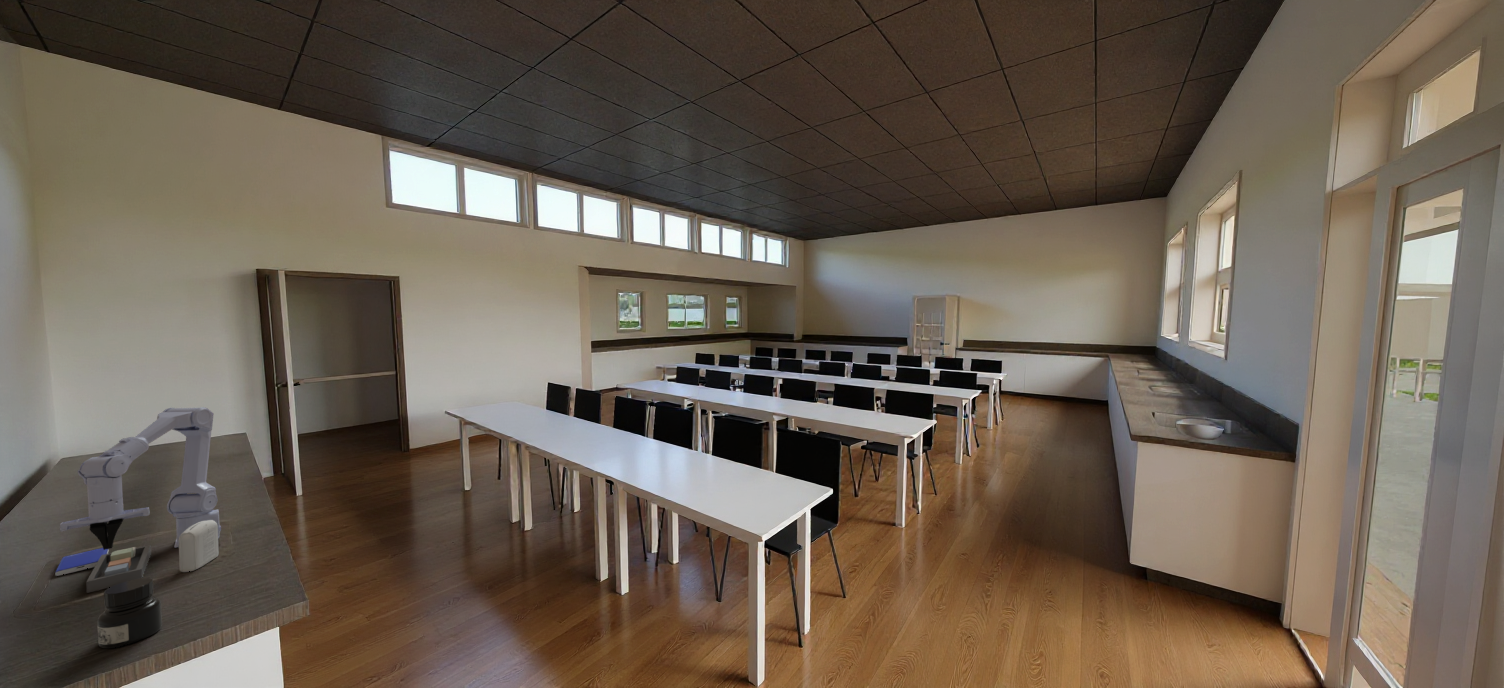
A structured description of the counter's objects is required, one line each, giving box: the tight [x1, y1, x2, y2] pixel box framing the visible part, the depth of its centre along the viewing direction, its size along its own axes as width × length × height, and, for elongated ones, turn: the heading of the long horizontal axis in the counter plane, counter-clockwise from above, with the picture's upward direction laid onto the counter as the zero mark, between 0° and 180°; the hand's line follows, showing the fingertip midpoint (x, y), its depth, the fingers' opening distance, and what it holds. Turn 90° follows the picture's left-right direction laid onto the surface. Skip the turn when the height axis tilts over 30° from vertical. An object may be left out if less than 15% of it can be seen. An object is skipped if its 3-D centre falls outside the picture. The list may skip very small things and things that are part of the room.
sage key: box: [110, 547, 133, 561], centre depth 138 cm, size 4×4×3 cm
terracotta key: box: [108, 557, 131, 568], centre depth 134 cm, size 4×4×3 cm
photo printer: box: [178, 520, 220, 573], centre depth 141 cm, size 10×4×12 cm, turn 20°
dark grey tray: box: [85, 544, 152, 594], centre depth 136 cm, size 9×21×3 cm, turn 47°
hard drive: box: [54, 547, 110, 577], centre depth 140 cm, size 2×8×12 cm
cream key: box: [117, 546, 136, 558], centre depth 141 cm, size 4×4×3 cm
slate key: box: [105, 563, 129, 576], centre depth 131 cm, size 4×4×3 cm
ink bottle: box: [96, 577, 163, 649], centre depth 109 cm, size 10×9×12 cm
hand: (108, 547), depth 132 cm, fingers closed
